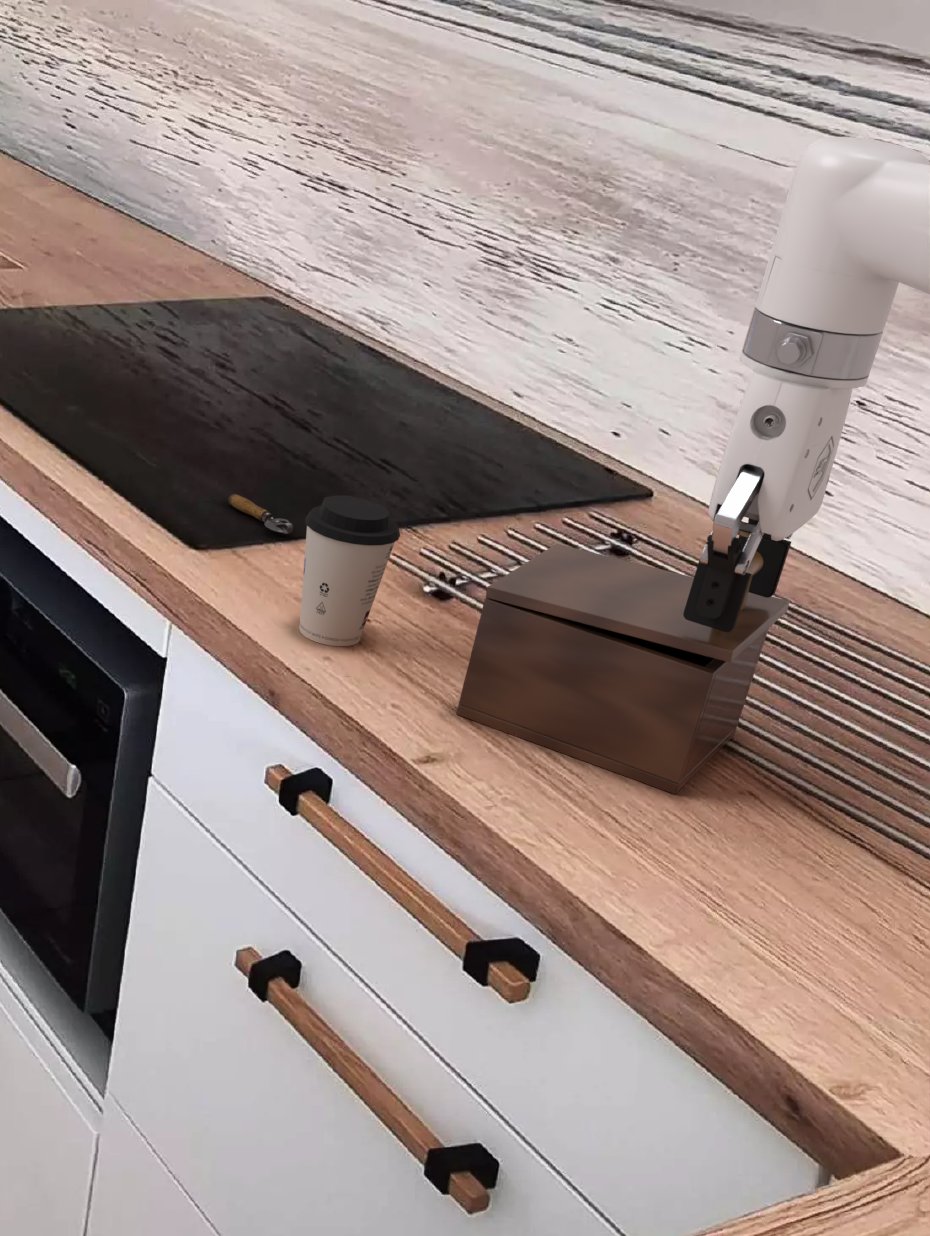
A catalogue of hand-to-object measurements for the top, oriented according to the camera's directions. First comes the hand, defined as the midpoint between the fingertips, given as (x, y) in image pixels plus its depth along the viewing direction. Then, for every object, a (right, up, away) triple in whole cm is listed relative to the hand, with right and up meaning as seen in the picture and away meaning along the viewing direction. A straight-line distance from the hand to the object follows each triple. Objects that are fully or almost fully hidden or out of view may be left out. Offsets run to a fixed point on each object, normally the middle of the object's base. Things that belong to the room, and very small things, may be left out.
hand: (729, 606), depth 131 cm
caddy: (-6, -8, +8) cm, 13 cm away
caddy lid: (-5, 0, +4) cm, 6 cm away
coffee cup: (-23, -1, +18) cm, 29 cm away
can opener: (-24, +10, +39) cm, 47 cm away
